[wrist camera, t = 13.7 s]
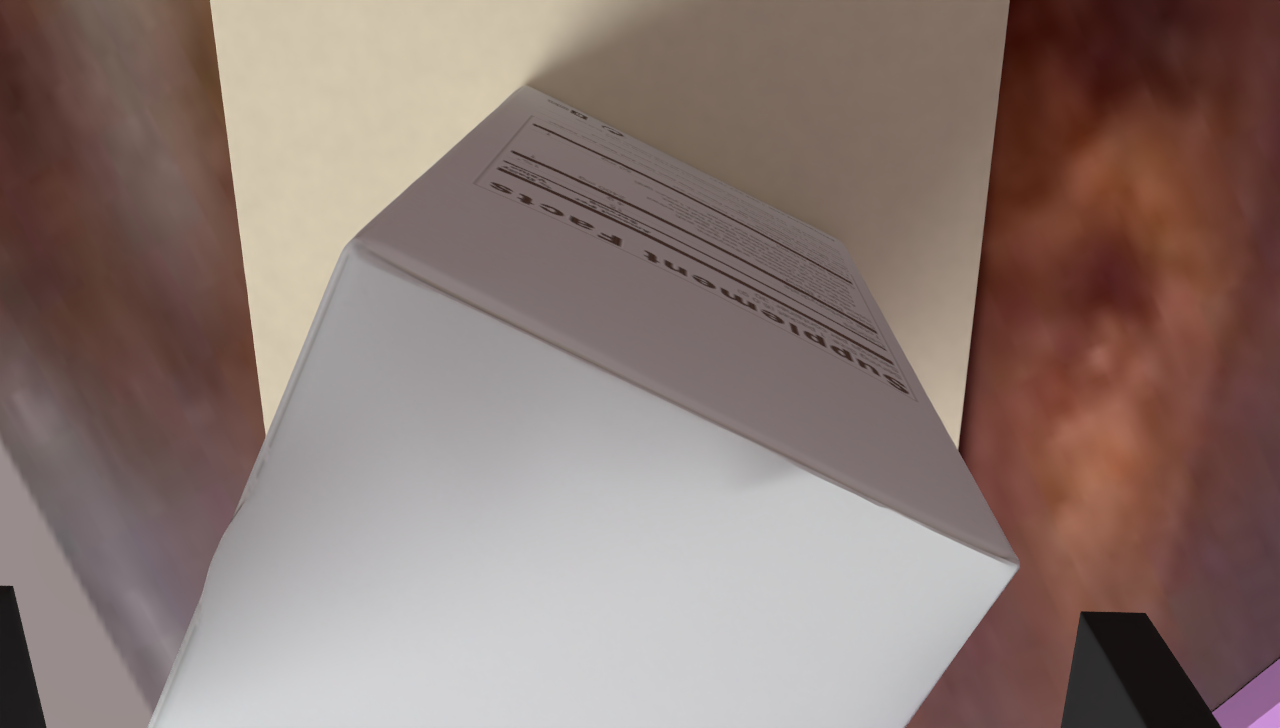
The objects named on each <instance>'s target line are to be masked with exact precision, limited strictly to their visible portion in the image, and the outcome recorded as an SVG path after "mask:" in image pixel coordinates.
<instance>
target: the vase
mask: <svg viewBox="0 0 1280 728" xmlns="http://www.w3.org/2000/svg"><path fill="white" fill-rule="evenodd" d="M1212 714H1213V715H1214V717H1215V718H1216V720H1217V721H1218V723H1219V724H1220V726H1221V727H1222V728H1280V659H1279V660H1277V661H1276V662H1275V663H1274V664H1272V665H1271V666H1270V667H1269V668H1267V669H1266V670H1265V671H1264V672H1262V673H1261V674H1260V675H1259V676H1257V677H1256V678H1255V679H1254V680H1252V681H1251V682H1250V683H1249V684H1247V685H1246V686H1245V687H1244V688H1242V689H1241V690H1240V691H1239V692H1237V693H1236V694H1235V695H1234V696H1232V697H1231V698H1230V699H1229V700H1227V701H1226V702H1225V703H1224V704H1222V705H1221V706H1220V707H1219V708H1217V709H1216V710H1215V711H1214V712H1212Z"/></svg>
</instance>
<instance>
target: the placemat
mask: <svg viewBox="0 0 1280 728" xmlns="http://www.w3.org/2000/svg"><path fill="white" fill-rule="evenodd" d="M210 3H211V11H212V19H213V27H214V34H215V42H216V50H217V58H218V66H219V73H220V81H221V89H222V97H223V105H224V112H225V120H226V128H227V136H228V144H229V152H230V159H231V167H232V175H233V183H234V191H235V198H236V206H237V214H238V222H239V230H240V237H241V245H242V253H243V261H244V269H245V276H246V284H247V292H248V300H249V308H250V316H251V323H252V331H253V339H254V347H255V355H256V362H257V370H258V378H259V386H260V394H261V401H262V409H263V417H264V425H265V433H266V435H267V433H268V430H269V428H270V426H271V423H272V421H273V418H274V416H275V413H276V411H277V408H278V406H279V403H280V401H281V399H282V396H283V394H284V391H285V389H286V386H287V384H288V381H289V379H290V377H291V374H292V372H293V369H294V367H295V364H296V362H297V359H298V357H299V354H300V352H301V349H302V347H303V344H304V342H305V339H306V337H307V334H308V332H309V329H310V327H311V325H312V322H313V320H314V317H315V315H316V312H317V310H318V307H319V305H320V302H321V300H322V297H323V295H324V292H325V290H326V287H327V285H328V282H329V280H330V277H331V275H332V273H333V270H334V268H335V266H336V264H337V261H338V259H339V257H340V254H341V252H342V250H343V249H344V247H345V245H346V244H347V243H348V242H349V241H350V240H351V239H352V238H353V237H354V236H355V235H356V234H357V233H358V232H359V231H360V230H361V229H362V228H363V227H365V226H366V225H367V224H368V223H369V222H370V221H371V220H372V219H373V218H374V217H376V216H377V215H378V214H379V213H380V212H381V211H382V210H383V209H384V208H386V207H387V206H388V205H389V204H390V203H391V202H392V201H393V200H395V199H396V198H397V197H398V196H399V195H400V194H401V193H402V192H404V191H405V190H406V189H407V188H408V187H409V186H410V185H411V184H412V183H413V182H414V181H416V180H417V179H418V178H419V177H420V176H421V175H423V174H424V173H425V172H426V171H427V170H428V169H429V168H431V167H432V166H433V165H434V164H435V163H436V162H437V161H438V160H439V159H441V158H442V157H443V156H444V155H445V154H446V153H447V152H448V151H449V150H450V149H452V148H453V147H454V146H455V145H456V144H457V143H458V142H459V141H460V140H462V139H463V138H464V137H465V136H466V135H467V134H468V133H469V132H470V131H472V130H473V129H474V128H475V127H476V126H477V125H478V124H479V123H480V122H482V121H483V120H484V119H485V118H486V117H487V116H488V115H490V114H491V113H492V112H493V111H494V110H495V109H496V108H497V107H499V106H500V104H501V103H502V102H504V101H505V100H506V99H507V98H508V97H509V96H510V95H511V94H512V93H513V92H514V91H516V90H517V89H518V88H520V87H521V86H524V85H526V86H530V87H532V88H534V89H536V90H538V91H540V92H542V93H544V94H547V95H549V96H551V97H553V98H555V99H557V100H559V101H561V102H563V103H565V104H567V105H569V106H571V107H573V108H575V109H577V110H579V111H581V112H583V113H585V114H587V115H589V116H591V117H593V118H595V119H597V120H599V121H601V122H603V123H605V124H607V125H609V126H611V127H613V128H615V129H617V130H619V131H621V132H623V133H625V134H627V135H629V136H631V137H633V138H635V139H638V140H640V141H642V142H644V143H646V144H648V145H650V146H652V147H654V148H656V149H658V150H660V151H662V152H664V153H666V154H668V155H670V156H672V157H674V158H676V159H678V160H680V161H682V162H684V163H686V164H688V165H690V166H692V167H694V168H696V169H698V170H700V171H702V172H704V173H706V174H708V175H710V176H712V177H714V178H716V179H718V180H720V181H722V182H724V183H726V184H728V185H730V186H732V187H734V188H736V189H738V190H740V191H742V192H744V193H746V194H748V195H750V196H752V197H754V198H756V199H758V200H760V201H762V202H764V203H766V204H768V205H770V206H772V207H774V208H776V209H778V210H780V211H782V212H785V213H787V214H789V215H791V216H793V217H795V218H797V219H799V220H801V221H803V222H805V223H807V224H809V225H811V226H813V227H815V228H817V229H819V230H821V231H823V232H825V233H826V234H828V235H830V236H832V237H834V238H836V239H838V240H840V241H841V242H842V243H843V244H844V245H845V246H846V248H847V250H848V252H849V254H850V256H851V257H852V259H853V261H854V263H855V265H856V267H857V268H858V270H859V272H860V274H861V275H862V277H863V279H864V281H865V283H866V285H867V286H868V288H869V290H870V292H871V294H872V296H873V297H874V299H875V301H876V303H877V304H878V306H879V308H880V310H881V312H882V313H883V315H884V317H885V319H886V321H887V323H888V324H889V326H890V328H891V330H892V332H893V334H894V335H895V337H896V339H897V341H898V343H899V344H900V346H901V348H902V350H903V352H904V354H905V355H906V357H907V359H908V361H909V363H910V364H911V366H912V368H913V370H914V372H915V374H916V376H917V377H918V379H919V381H920V383H921V385H922V386H923V388H924V390H925V392H926V394H927V396H928V397H929V399H930V401H931V403H932V404H933V406H934V408H935V410H936V412H937V414H938V415H939V417H940V419H941V421H942V422H943V424H944V426H945V428H946V430H947V432H948V434H949V435H950V437H951V439H952V441H953V442H954V444H955V446H956V448H957V449H958V448H959V440H960V431H961V422H962V413H963V405H964V396H965V387H966V378H967V370H968V361H969V352H970V343H971V335H972V326H973V317H974V308H975V300H976V291H977V282H978V274H979V265H980V256H981V247H982V239H983V230H984V221H985V212H986V204H987V195H988V186H989V177H990V169H991V160H992V151H993V143H994V134H995V125H996V116H997V108H998V99H999V90H1000V81H1001V73H1002V64H1003V55H1004V46H1005V38H1006V29H1007V20H1008V12H1009V3H1010V0H210Z"/></svg>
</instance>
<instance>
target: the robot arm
mask: <svg viewBox="0 0 1280 728" xmlns="http://www.w3.org/2000/svg"><path fill="white" fill-rule="evenodd" d="M0 728H46V724H45V720H44V715H43V711H42V707H41V703H40V698H39V694H38V690H37V686H36V682H35V677H34V673H33V669H32V664H31V660H30V656H29V652H28V648H27V643H26V640H25V635H24V631H23V626H22V622H21V618H20V614H19V609H18V605H17V601H16V597H15V592H14V588H13V586H0ZM1061 728H1222V727H1221V726H1220V724H1219V723H1218V721H1217V720H1216V718H1215V717H1214V715H1213V714H1212V712H1211V711H1210V709H1209V708H1208V706H1207V705H1206V703H1205V702H1204V700H1203V699H1202V697H1201V696H1200V694H1199V693H1198V691H1197V690H1196V688H1195V687H1194V685H1193V684H1192V682H1191V681H1190V679H1189V678H1188V676H1187V675H1186V673H1185V672H1184V670H1183V669H1182V667H1181V666H1180V664H1179V663H1178V661H1177V660H1176V658H1175V657H1174V655H1173V654H1172V652H1171V651H1170V649H1169V648H1168V646H1167V645H1166V643H1165V642H1164V640H1163V639H1162V637H1161V636H1160V634H1159V633H1158V631H1157V630H1156V628H1155V627H1154V625H1153V624H1152V622H1151V621H1150V619H1149V618H1148V616H1147V615H1146V613H1123V612H1081V613H1080V619H1079V625H1078V631H1077V637H1076V643H1075V648H1074V654H1073V660H1072V666H1071V672H1070V678H1069V683H1068V689H1067V695H1066V701H1065V707H1064V713H1063V718H1062V724H1061Z"/></svg>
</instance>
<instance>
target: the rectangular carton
mask: <svg viewBox="0 0 1280 728" xmlns="http://www.w3.org/2000/svg"><path fill="white" fill-rule="evenodd" d="M1019 568H1020V564H1019V559H1018V558H1017V556H1016V555H1015V553H1014V551H1013V550H1012V548H1011V546H1010V544H1009V542H1008V540H1007V538H1006V537H1005V535H1004V533H1003V531H1002V529H1001V527H1000V526H999V524H998V522H997V520H996V518H995V517H994V515H993V513H992V511H991V509H990V508H989V506H988V504H987V502H986V500H985V498H984V497H983V495H982V493H981V491H980V489H979V487H978V486H977V484H976V482H975V480H974V478H973V476H972V475H971V473H970V471H969V469H968V467H967V466H966V464H965V462H964V460H963V458H962V457H961V455H960V453H959V451H958V449H957V448H956V446H955V444H954V442H953V441H952V439H951V437H950V435H949V434H948V432H947V430H946V428H945V426H944V424H943V422H942V421H941V419H940V417H939V415H938V414H937V412H936V410H935V408H934V406H933V404H932V403H931V401H930V399H929V397H928V396H927V394H926V392H925V390H924V388H923V386H922V385H921V383H920V381H919V379H918V377H917V376H916V374H915V372H914V370H913V368H912V366H911V364H910V363H909V361H908V359H907V357H906V355H905V354H904V352H903V350H902V348H901V346H900V344H899V343H898V341H897V339H896V337H895V335H894V334H893V332H892V330H891V328H890V326H889V324H888V323H887V321H886V319H885V317H884V315H883V313H882V312H881V310H880V308H879V306H878V304H877V303H876V301H875V299H874V297H873V296H872V294H871V292H870V290H869V288H868V286H867V285H866V283H865V281H864V279H863V277H862V275H861V274H860V272H859V270H858V268H857V267H856V265H855V263H854V261H853V259H852V257H851V256H850V254H849V252H848V250H847V248H846V246H845V245H844V244H843V243H842V242H841V241H840V240H838V239H836V238H834V237H832V236H830V235H828V234H826V233H825V232H823V231H821V230H819V229H817V228H815V227H813V226H811V225H809V224H807V223H805V222H803V221H801V220H799V219H797V218H795V217H793V216H791V215H789V214H787V213H785V212H782V211H780V210H778V209H776V208H774V207H772V206H770V205H768V204H766V203H764V202H762V201H760V200H758V199H756V198H754V197H752V196H750V195H748V194H746V193H744V192H742V191H740V190H738V189H736V188H734V187H732V186H730V185H728V184H726V183H724V182H722V181H720V180H718V179H716V178H714V177H712V176H710V175H708V174H706V173H704V172H702V171H700V170H698V169H696V168H694V167H692V166H690V165H688V164H686V163H684V162H682V161H680V160H678V159H676V158H674V157H672V156H670V155H668V154H666V153H664V152H662V151H660V150H658V149H656V148H654V147H652V146H650V145H648V144H646V143H644V142H642V141H640V140H638V139H635V138H633V137H631V136H629V135H627V134H625V133H623V132H621V131H619V130H617V129H615V128H613V127H611V126H609V125H607V124H605V123H603V122H601V121H599V120H597V119H595V118H593V117H591V116H589V115H587V114H585V113H583V112H581V111H579V110H577V109H575V108H573V107H571V106H569V105H567V104H565V103H563V102H561V101H559V100H557V99H555V98H553V97H551V96H549V95H547V94H544V93H542V92H540V91H538V90H536V89H534V88H532V87H530V86H526V85H524V86H521V87H520V88H518V89H517V90H516V91H514V92H513V93H512V94H511V95H510V96H509V97H508V98H507V99H506V100H505V101H504V102H502V103H501V104H500V106H499V107H497V108H496V109H495V110H494V111H493V112H492V113H491V114H490V115H488V116H487V117H486V118H485V119H484V120H483V121H482V122H480V123H479V124H478V125H477V126H476V127H475V128H474V129H473V130H472V131H470V132H469V133H468V134H467V135H466V136H465V137H464V138H463V139H462V140H460V141H459V142H458V143H457V144H456V145H455V146H454V147H453V148H452V149H450V150H449V151H448V152H447V153H446V154H445V155H444V156H443V157H442V158H441V159H439V160H438V161H437V162H436V163H435V164H434V165H433V166H432V167H431V168H429V169H428V170H427V171H426V172H425V173H424V174H423V175H421V176H420V177H419V178H418V179H417V180H416V181H414V182H413V183H412V184H411V185H410V186H409V187H408V188H407V189H406V190H405V191H404V192H402V193H401V194H400V195H399V196H398V197H397V198H396V199H395V200H393V201H392V202H391V203H390V204H389V205H388V206H387V207H386V208H384V209H383V210H382V211H381V212H380V213H379V214H378V215H377V216H376V217H374V218H373V219H372V220H371V221H370V222H369V223H368V224H367V225H366V226H365V227H363V228H362V229H361V230H360V231H359V232H358V233H357V234H356V235H355V236H354V237H353V238H352V239H351V240H350V241H349V242H348V243H347V244H346V245H345V247H344V249H343V250H342V252H341V254H340V257H339V259H338V261H337V264H336V266H335V268H334V270H333V273H332V275H331V277H330V280H329V282H328V285H327V287H326V290H325V292H324V295H323V297H322V300H321V302H320V305H319V307H318V310H317V312H316V315H315V317H314V320H313V322H312V325H311V327H310V329H309V332H308V334H307V337H306V339H305V342H304V344H303V347H302V349H301V352H300V354H299V357H298V359H297V362H296V364H295V367H294V369H293V372H292V374H291V377H290V379H289V381H288V384H287V386H286V389H285V391H284V394H283V396H282V399H281V401H280V403H279V406H278V408H277V411H276V413H275V416H274V418H273V421H272V423H271V426H270V428H269V430H268V433H267V435H266V438H265V440H264V443H263V445H262V448H261V450H260V452H259V455H258V457H257V460H256V462H255V465H254V467H253V470H252V472H251V474H250V477H249V479H248V482H247V484H246V487H245V489H244V492H243V494H242V496H241V499H240V501H239V504H238V506H237V509H236V511H235V513H234V516H233V518H232V520H231V522H230V524H229V526H228V528H227V529H226V531H225V533H224V535H223V536H222V538H221V541H220V543H219V545H218V548H217V550H216V552H215V554H214V557H213V559H212V561H211V563H210V567H209V570H208V574H207V578H206V581H205V585H204V589H203V593H202V595H201V598H200V600H199V603H198V605H197V607H196V610H195V612H194V615H193V617H192V620H191V622H190V625H189V627H188V630H187V632H186V635H185V637H184V640H183V642H182V645H181V647H180V650H179V652H178V655H177V657H176V659H175V662H174V664H173V667H172V669H171V672H170V674H169V677H168V679H167V682H166V684H165V687H164V689H163V692H162V694H161V697H160V699H159V702H158V704H157V706H156V709H155V711H154V713H153V716H152V718H151V721H150V723H149V725H148V728H905V727H906V726H907V724H908V723H909V722H910V720H911V719H912V717H913V716H914V715H915V713H916V712H917V710H918V709H919V707H920V706H921V705H922V703H923V702H924V700H925V699H926V697H927V696H928V695H929V693H930V692H931V690H932V689H933V687H934V686H935V685H936V683H937V682H938V680H939V679H940V677H941V676H942V675H943V673H944V672H945V670H946V669H947V667H948V666H949V665H950V663H951V662H952V660H953V659H954V657H955V656H956V655H957V653H958V652H959V650H960V649H961V648H962V646H963V645H964V643H965V642H966V640H967V639H968V638H969V636H970V635H971V633H972V632H973V631H974V629H975V628H976V627H977V625H978V624H979V622H980V621H981V620H982V618H983V617H984V616H985V614H986V613H987V612H988V610H989V609H990V608H991V606H992V605H993V604H994V602H995V601H996V600H997V598H998V597H999V595H1000V594H1001V593H1002V591H1003V590H1004V589H1005V587H1006V586H1007V585H1008V583H1009V582H1010V581H1011V579H1012V578H1013V576H1014V575H1015V574H1016V572H1017V571H1018V570H1019Z"/></svg>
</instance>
